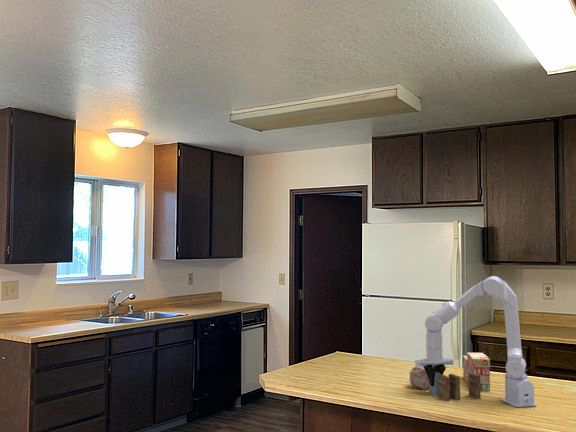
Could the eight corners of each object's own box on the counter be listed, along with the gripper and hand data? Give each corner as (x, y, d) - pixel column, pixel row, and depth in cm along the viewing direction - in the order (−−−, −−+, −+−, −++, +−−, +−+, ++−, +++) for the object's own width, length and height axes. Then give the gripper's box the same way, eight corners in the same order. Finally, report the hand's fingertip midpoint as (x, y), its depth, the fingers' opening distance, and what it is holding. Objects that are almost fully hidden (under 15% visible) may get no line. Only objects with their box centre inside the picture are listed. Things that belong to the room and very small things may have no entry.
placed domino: (433, 392, 212) (433, 370, 212) (440, 395, 207) (439, 373, 208) (429, 392, 212) (429, 370, 212) (436, 395, 207) (435, 373, 207)
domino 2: (452, 396, 206) (452, 373, 206) (460, 399, 201) (460, 376, 202) (448, 396, 206) (448, 374, 206) (456, 400, 201) (455, 377, 201)
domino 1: (442, 396, 205) (442, 374, 206) (449, 400, 200) (449, 377, 201) (438, 397, 205) (438, 374, 205) (445, 400, 200) (445, 377, 200)
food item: (427, 391, 213) (426, 364, 213) (408, 388, 218) (407, 361, 218) (443, 385, 223) (443, 359, 223) (425, 381, 228) (425, 356, 229)
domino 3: (472, 395, 208) (472, 372, 208) (480, 398, 203) (480, 375, 203) (468, 395, 208) (468, 373, 208) (476, 398, 203) (476, 376, 203)
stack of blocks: (462, 378, 235) (462, 347, 235) (478, 378, 234) (478, 348, 234) (473, 391, 213) (472, 358, 214) (490, 392, 213) (490, 358, 213)
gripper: (446, 345, 216) (447, 381, 215) (411, 346, 212) (411, 383, 212) (456, 348, 209) (456, 386, 208) (420, 350, 206) (420, 388, 205)
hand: (434, 385), depth 209 cm, fingers closed on placed domino, 2 cm apart
